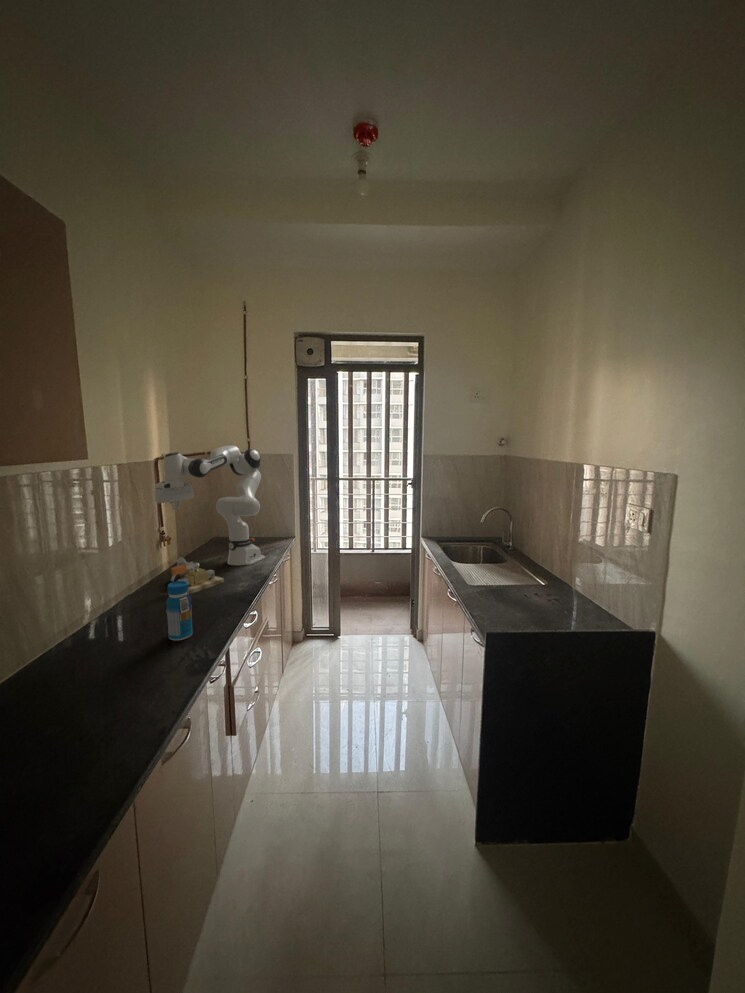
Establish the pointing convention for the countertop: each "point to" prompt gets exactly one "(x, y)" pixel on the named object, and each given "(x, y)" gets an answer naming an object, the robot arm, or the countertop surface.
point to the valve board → (205, 585)
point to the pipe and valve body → (198, 576)
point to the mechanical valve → (181, 562)
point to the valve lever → (182, 568)
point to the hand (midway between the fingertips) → (176, 509)
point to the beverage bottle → (179, 611)
